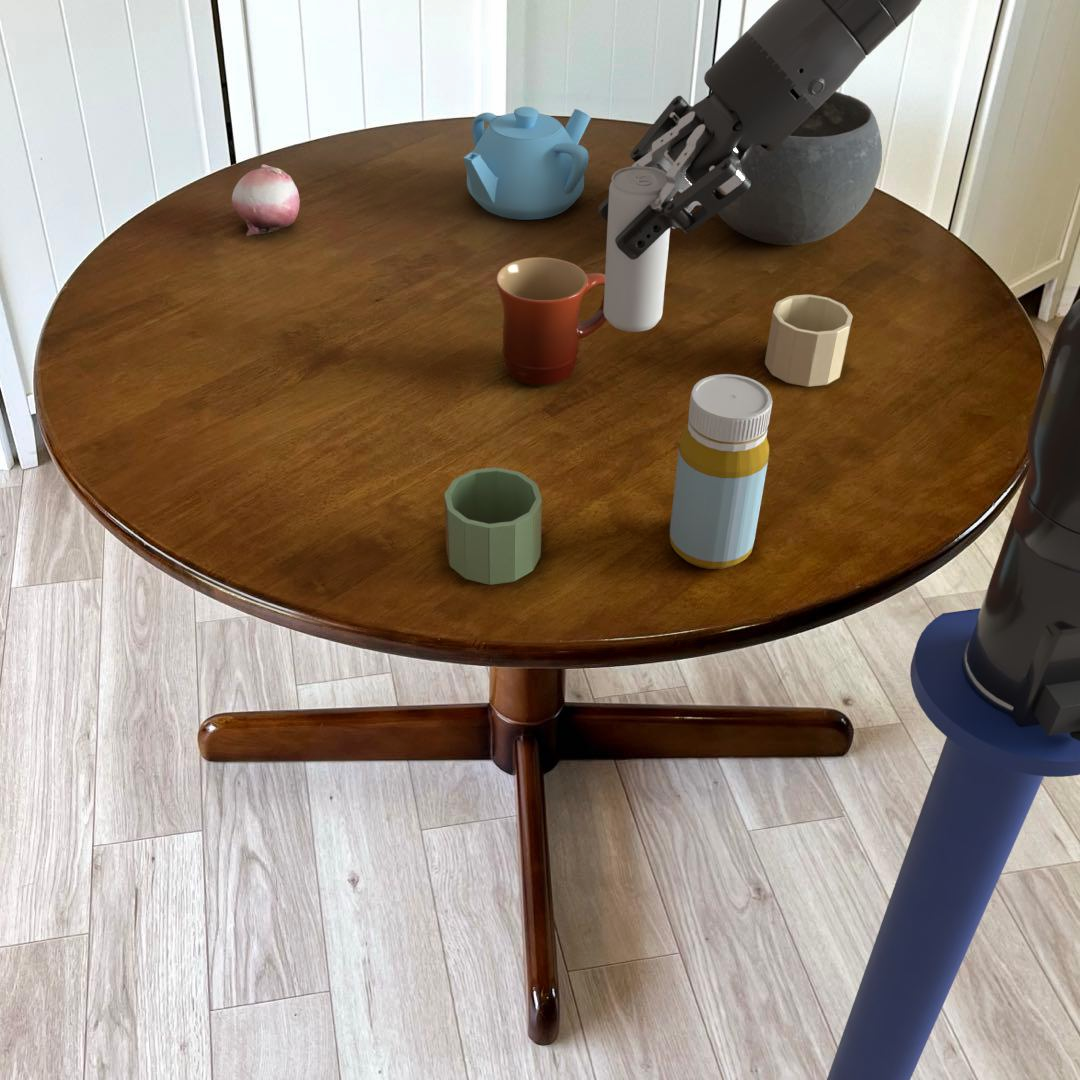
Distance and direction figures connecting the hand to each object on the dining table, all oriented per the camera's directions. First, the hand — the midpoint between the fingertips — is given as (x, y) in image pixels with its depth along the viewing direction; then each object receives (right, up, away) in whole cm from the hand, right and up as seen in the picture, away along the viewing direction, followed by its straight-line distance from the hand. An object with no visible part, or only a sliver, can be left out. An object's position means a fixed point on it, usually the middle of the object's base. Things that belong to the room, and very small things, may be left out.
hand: (615, 234), depth 95 cm
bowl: (+23, +13, +54) cm, 60 cm away
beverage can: (+2, -6, +5) cm, 8 cm away
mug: (-4, -6, +29) cm, 30 cm away
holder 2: (+21, -6, +30) cm, 37 cm away
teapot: (-7, +19, +59) cm, 63 cm away
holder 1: (-10, -25, +7) cm, 27 cm away
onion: (-38, +13, +52) cm, 66 cm away
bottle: (+9, -24, +9) cm, 27 cm away
